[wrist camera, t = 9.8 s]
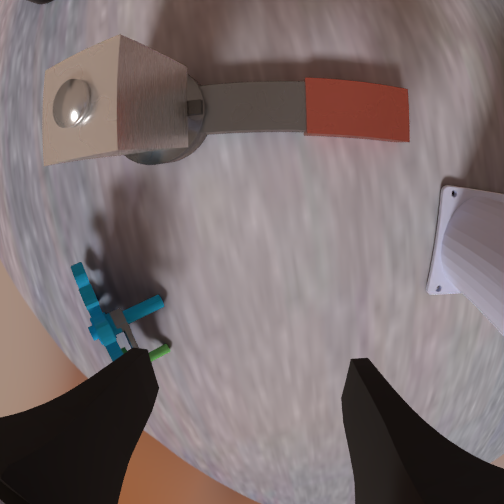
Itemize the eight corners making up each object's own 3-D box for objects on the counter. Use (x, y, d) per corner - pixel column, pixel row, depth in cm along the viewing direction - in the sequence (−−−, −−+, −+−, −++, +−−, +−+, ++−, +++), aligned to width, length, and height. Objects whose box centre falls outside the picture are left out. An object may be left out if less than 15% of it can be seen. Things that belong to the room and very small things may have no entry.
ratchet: (393, 74, 14) (429, 53, 9) (396, 163, 16) (435, 170, 11) (126, 83, 16) (82, 68, 11) (128, 166, 18) (82, 175, 13)
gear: (58, 249, 19) (73, 310, 12) (123, 223, 22) (175, 264, 15) (105, 353, 24) (146, 429, 17) (156, 328, 27) (212, 391, 20)
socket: (187, 67, 13) (113, 31, 7) (188, 147, 14) (110, 150, 8) (119, 83, 14) (39, 70, 8) (120, 155, 15) (37, 167, 9)
